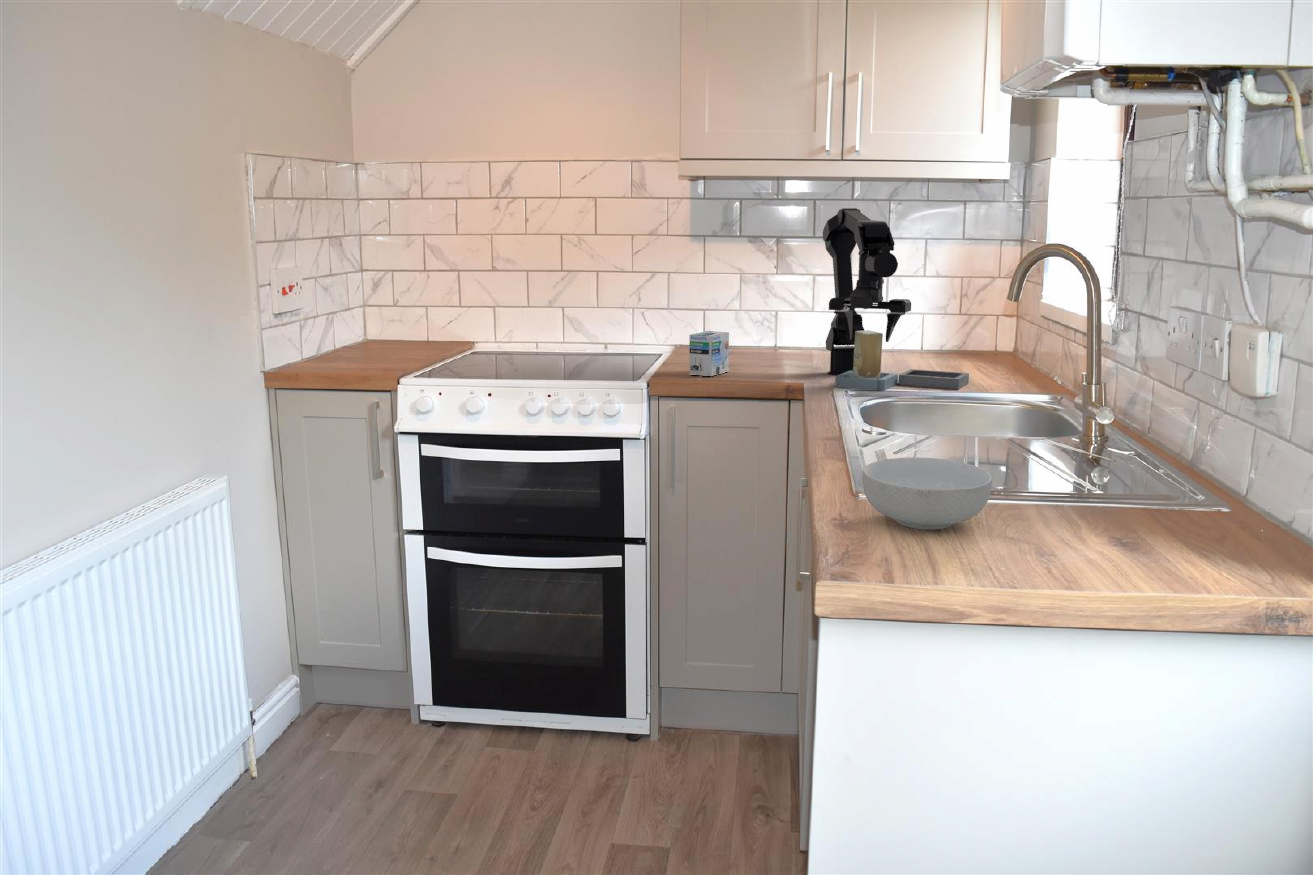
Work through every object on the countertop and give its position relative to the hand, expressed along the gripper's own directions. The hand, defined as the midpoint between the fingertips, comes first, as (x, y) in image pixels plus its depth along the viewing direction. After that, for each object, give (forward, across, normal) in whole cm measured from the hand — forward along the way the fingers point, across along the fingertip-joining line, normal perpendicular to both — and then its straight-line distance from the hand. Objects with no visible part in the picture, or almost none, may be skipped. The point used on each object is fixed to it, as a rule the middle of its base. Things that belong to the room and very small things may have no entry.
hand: (868, 340), depth 250 cm
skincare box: (+10, 0, 0) cm, 10 cm away
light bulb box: (+11, -42, -1) cm, 44 cm away
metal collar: (+11, +14, +9) cm, 20 cm away
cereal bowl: (+12, +42, -106) cm, 114 cm away
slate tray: (+11, 0, 0) cm, 11 cm away
